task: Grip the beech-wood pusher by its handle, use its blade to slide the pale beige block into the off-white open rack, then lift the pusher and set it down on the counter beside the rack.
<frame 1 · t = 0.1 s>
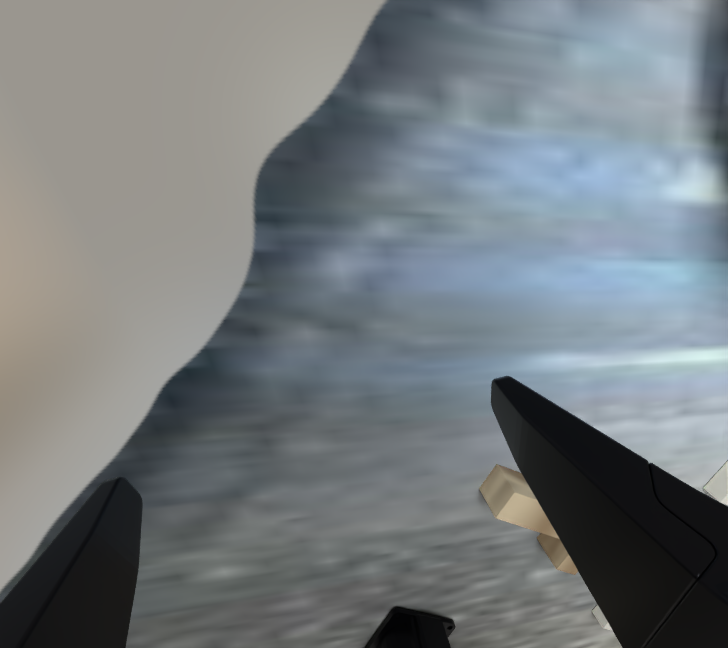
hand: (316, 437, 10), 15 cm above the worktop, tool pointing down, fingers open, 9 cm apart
wooden pusher: (526, 489, 33), on the worktop
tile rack: (704, 553, 39), on the worktop
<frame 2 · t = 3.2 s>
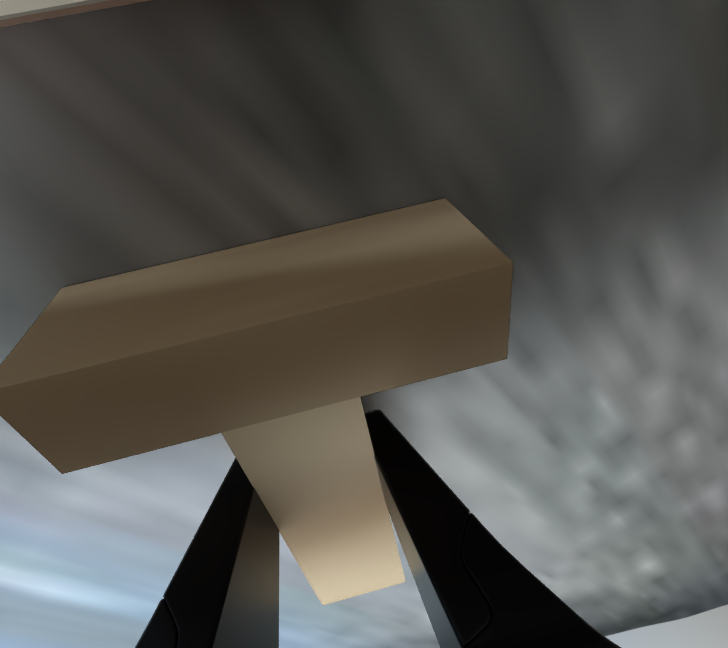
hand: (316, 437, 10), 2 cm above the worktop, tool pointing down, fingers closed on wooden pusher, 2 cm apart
wooden pusher: (323, 427, 12), on the worktop, touching gripper
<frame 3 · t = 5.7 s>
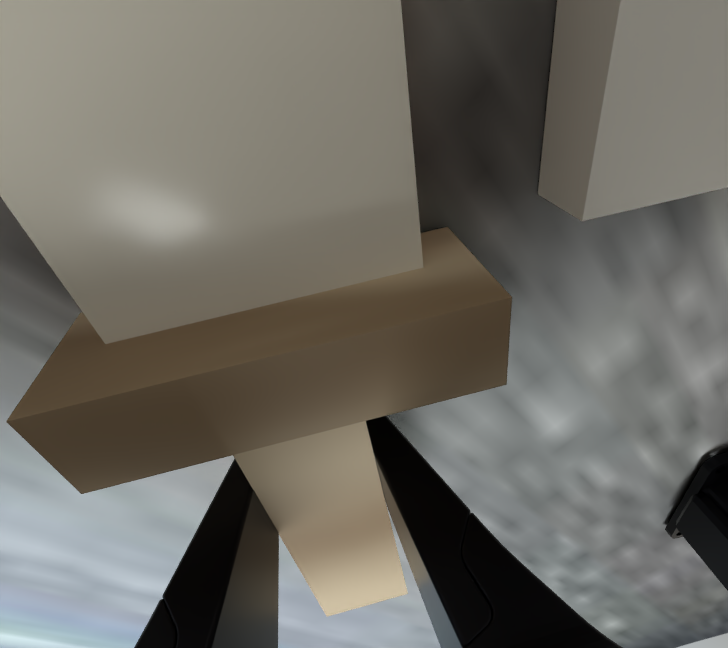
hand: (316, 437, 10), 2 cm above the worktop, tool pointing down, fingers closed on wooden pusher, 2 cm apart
wooden pusher: (327, 442, 12), on the worktop, touching gripper
pale beige block: (216, 112, 7), on the worktop
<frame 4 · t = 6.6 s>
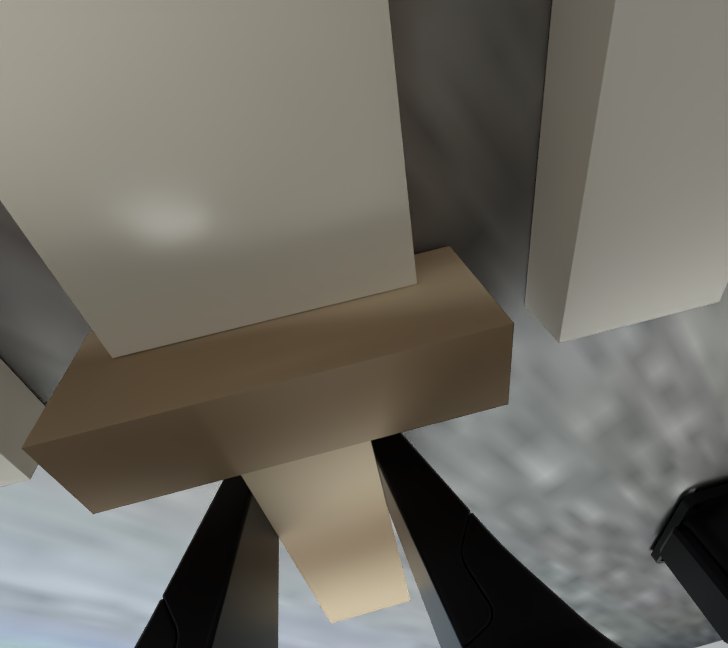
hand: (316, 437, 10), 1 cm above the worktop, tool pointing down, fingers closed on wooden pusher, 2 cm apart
wooden pusher: (331, 452, 13), on the worktop, touching gripper
pale beige block: (219, 137, 8), on the worktop
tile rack: (196, 63, 7), on the worktop
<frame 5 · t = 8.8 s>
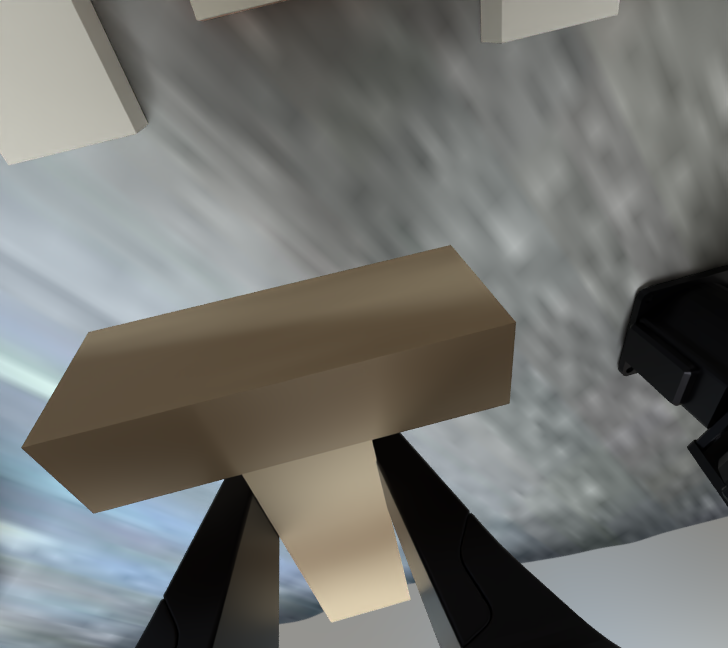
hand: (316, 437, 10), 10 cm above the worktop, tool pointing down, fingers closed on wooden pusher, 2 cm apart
wooden pusher: (331, 452, 13), point 9 cm above the worktop, touching gripper
when the fingers open (3 cm above the worktop, at t = 10.8 s): wooden pusher drops 1 cm, on the worktop.
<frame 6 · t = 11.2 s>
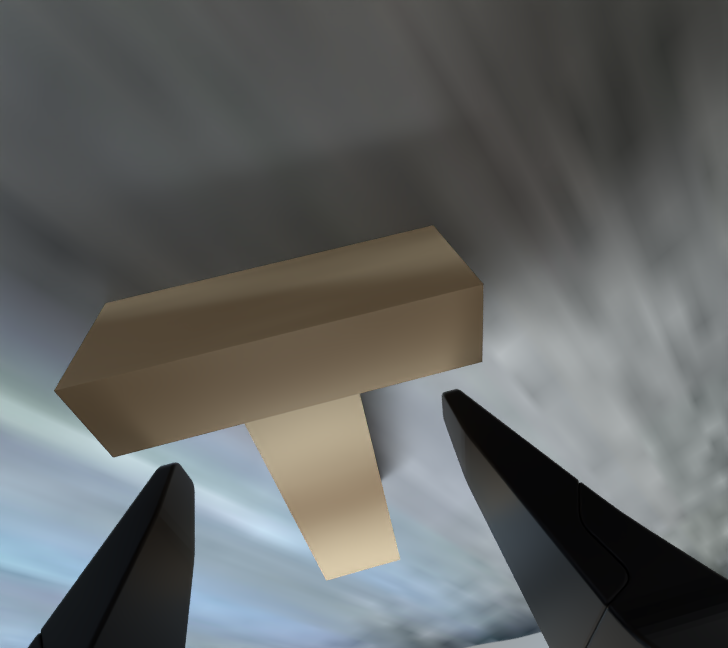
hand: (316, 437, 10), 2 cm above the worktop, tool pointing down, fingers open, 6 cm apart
wooden pusher: (326, 422, 14), on the worktop
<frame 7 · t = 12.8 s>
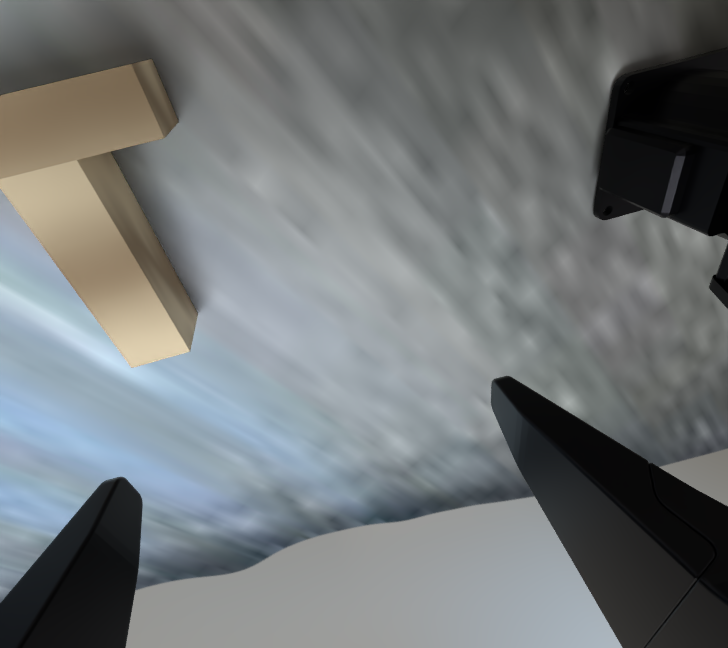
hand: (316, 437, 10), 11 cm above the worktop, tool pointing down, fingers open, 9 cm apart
wooden pusher: (128, 246, 17), on the worktop
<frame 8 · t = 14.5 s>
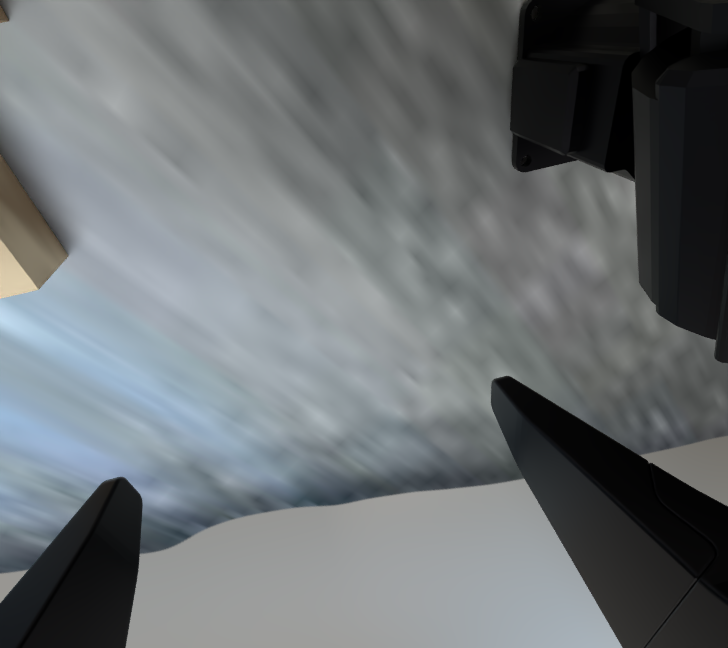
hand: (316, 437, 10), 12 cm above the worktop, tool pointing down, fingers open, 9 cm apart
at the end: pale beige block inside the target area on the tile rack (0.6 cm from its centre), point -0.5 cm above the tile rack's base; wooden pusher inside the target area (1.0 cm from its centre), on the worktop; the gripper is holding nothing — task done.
